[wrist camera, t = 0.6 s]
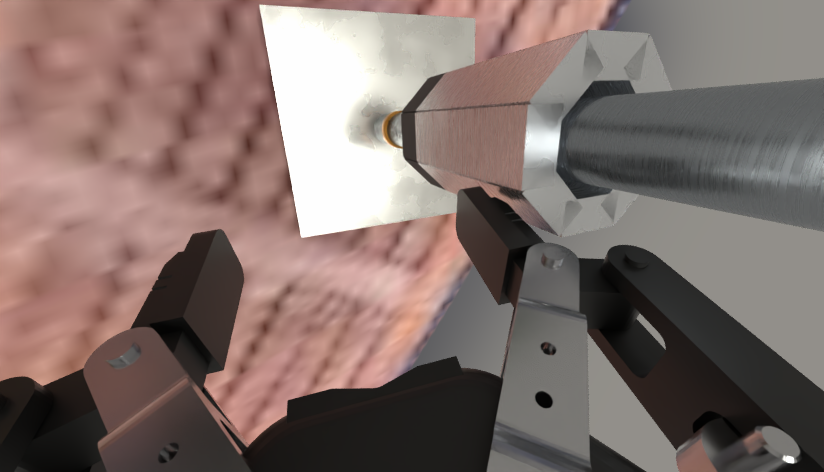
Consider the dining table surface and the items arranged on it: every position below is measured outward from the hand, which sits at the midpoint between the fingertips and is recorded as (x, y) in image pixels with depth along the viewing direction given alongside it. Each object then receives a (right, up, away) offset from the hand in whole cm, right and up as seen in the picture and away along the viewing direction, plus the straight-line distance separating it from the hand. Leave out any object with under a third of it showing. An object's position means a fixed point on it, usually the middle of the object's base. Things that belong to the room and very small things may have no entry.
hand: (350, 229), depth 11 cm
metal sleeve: (+5, +5, +6) cm, 9 cm away
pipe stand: (-1, +10, +20) cm, 22 cm away
